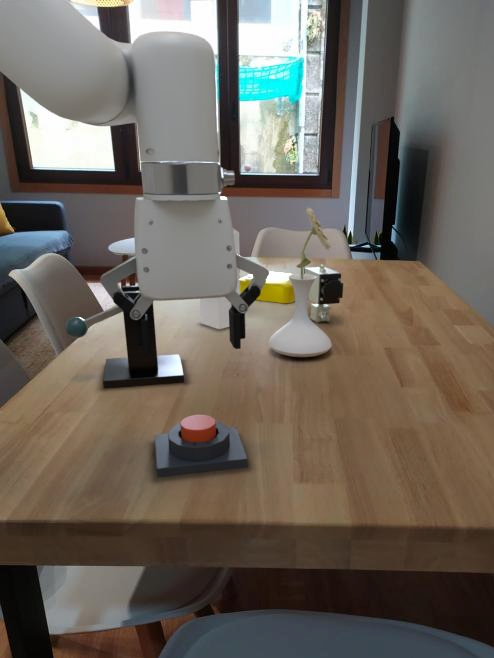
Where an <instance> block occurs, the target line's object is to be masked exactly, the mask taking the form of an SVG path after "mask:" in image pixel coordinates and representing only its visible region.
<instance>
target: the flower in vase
mask: <svg viewBox="0 0 494 658" xmlns="http://www.w3.org/2000/svg"><path fill="white" fill-rule="evenodd" d="M306 214H307V218H308V221H309V223H310V224H311V230H310V232H309V234H308V236H307V238H306V240H305V242H304V244H303V247H302V250H301V251H300V252H301V253H300V254H301V255H300V263H298V264H297V265H295V267H296V268H299V269H300V273H290V274H291V275H289V276H288V278H289V280H290V281H291V283H292V285H293V288H294V293H295V301H294V314H293V316H292V318H291V320H290V321H288V322H287V323H286V324H285V325H283V326H282V327H281V328H279V329H278V330H277V331H276V332H274V333H273V334H272V335H271V336H270V339H269V340H268V345H269V347H270V349H271V350H273V351H274V352H276V353H277V354H280V355H284V356H288V357H294V358H309V357H317V356H320V355H322V354H325V353H327V352H329V351H330V349H331V348H332V345H333V343H332V341H331V338H330V337H329V336H328V335H327V333H325V332H324V331H323V330H322V329H321V328H320V327H318V326H317V325H316V324H315V322H312V321H313V320H312V319H311V318H310V315H309V310H308V309H309V308H308V307H309V306H308V305H309V292H310V289H311V286H312V284H313V282H314V281H315V280H316V278H317V277H316V276H315V275H310V274H304V267H308V265H310V264H311V263H312V261H311V260H309V258H307V257H306V254H305V250H306V247H307V245H308V243H309V241H310V239H311V237H312V235H314V236H317V238H318V240H319V242H320V244H321V245H322V246H323V247H324V249H325V250H326V251H328V250H330V249H331V245H330V243H329V242H328V240H329V239H328V236H327V235H326V234H325V233H324V232H323V229H322V223H321V222H320V220H318V219H316V215H315V212H314V210H313V209H312V208H311V207H309V206H308V207H307V208H306Z"/></svg>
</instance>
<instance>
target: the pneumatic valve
mask: <svg viewBox="0 0 494 658" xmlns="http://www.w3.org/2000/svg"><path fill="white" fill-rule="evenodd" d="M303 274H310V275H315V276H316V277H317V278H316V280H315V281H314V282H313V284H312V286H311V289H310V292H309V298H308V300H311V302H312V303H311V304H310V305H309V306H310V315H309V319H310V320H311V321H313V322H314V323H317V324H318V323H319V322H330V321H331V318H330V317H331V313H330V311H331V309H332V308H331V306H330V305H333V304H334V305H336V304H340V303H341V301H340V300H341V299H343V294H344V283H343V282H342V273H340V272H339V271H338V270H335V269H331V268H328V267H326V266H325V264H320V265H319V266H317V265H316V266H305V267H303ZM313 302H314V303H313Z"/></svg>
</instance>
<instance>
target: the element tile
mask: <svg viewBox="0 0 494 658" xmlns="http://www.w3.org/2000/svg"><path fill="white" fill-rule="evenodd" d="M291 274H292V273H287V272H286V273H285V272H276V271H269V276H268V278H267V280H266V282H265V285H264V287H263V288H262V290H261V294H260V296H259V297H258V298H257V299H256V300H255V301H261V302H268V303H269V302H270V303H278V304H291V303H295V293H294V288H293V285H292V283H291V281H290V280H289V278H288V276H289V275H291ZM251 280H252V275H251V274H248V275H247V276H244V277H240V294H241V293H242V292H243V291H244V290H245V289H246V288H247V287H248V285H250V283H251Z"/></svg>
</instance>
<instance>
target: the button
mask: <svg viewBox="0 0 494 658" xmlns="http://www.w3.org/2000/svg"><path fill="white" fill-rule="evenodd" d="M216 421H217V420H216V418H214V417H213V416H210V415H208V414H192V415H189V416H186V417H184V418H182V419H181V421H180V423H181V438H182V439H183V440H185V441H189V442H195V443H196V442H206V441H209V440H211V439H214V438H215V437H216Z"/></svg>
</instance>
